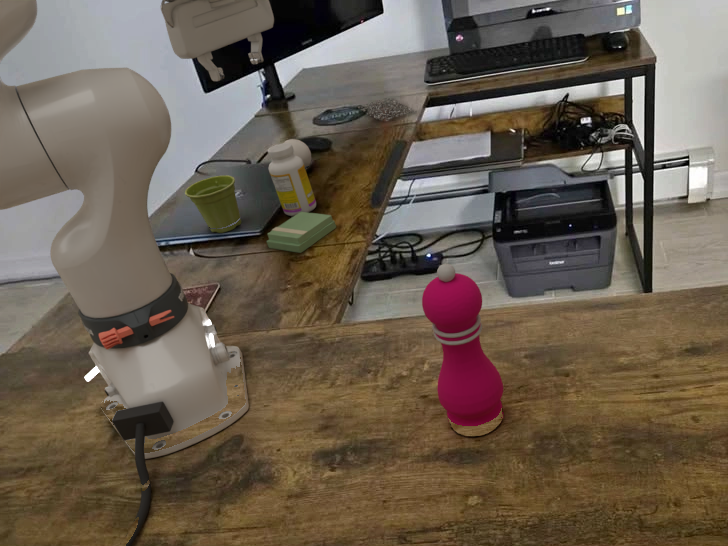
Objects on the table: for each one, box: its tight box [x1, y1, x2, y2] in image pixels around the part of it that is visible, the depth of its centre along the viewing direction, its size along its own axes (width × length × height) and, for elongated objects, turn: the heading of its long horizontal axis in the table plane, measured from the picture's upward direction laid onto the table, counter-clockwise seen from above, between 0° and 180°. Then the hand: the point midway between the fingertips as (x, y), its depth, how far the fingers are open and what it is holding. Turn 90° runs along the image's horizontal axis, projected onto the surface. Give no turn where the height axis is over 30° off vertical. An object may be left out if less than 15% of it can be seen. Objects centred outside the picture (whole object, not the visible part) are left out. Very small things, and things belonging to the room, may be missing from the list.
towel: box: [266, 212, 337, 254], centre depth 123 cm, size 10×8×3 cm
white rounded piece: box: [283, 138, 312, 171], centre depth 151 cm, size 10×7×7 cm
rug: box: [357, 97, 415, 122], centre depth 181 cm, size 10×20×1 cm, turn 28°
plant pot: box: [184, 174, 242, 234], centre depth 131 cm, size 9×9×9 cm
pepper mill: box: [421, 263, 504, 426], centre depth 70 cm, size 7×7×20 cm
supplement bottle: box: [267, 142, 317, 217], centre depth 131 cm, size 7×7×13 cm
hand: (238, 71), depth 117 cm, fingers open, 8 cm apart
